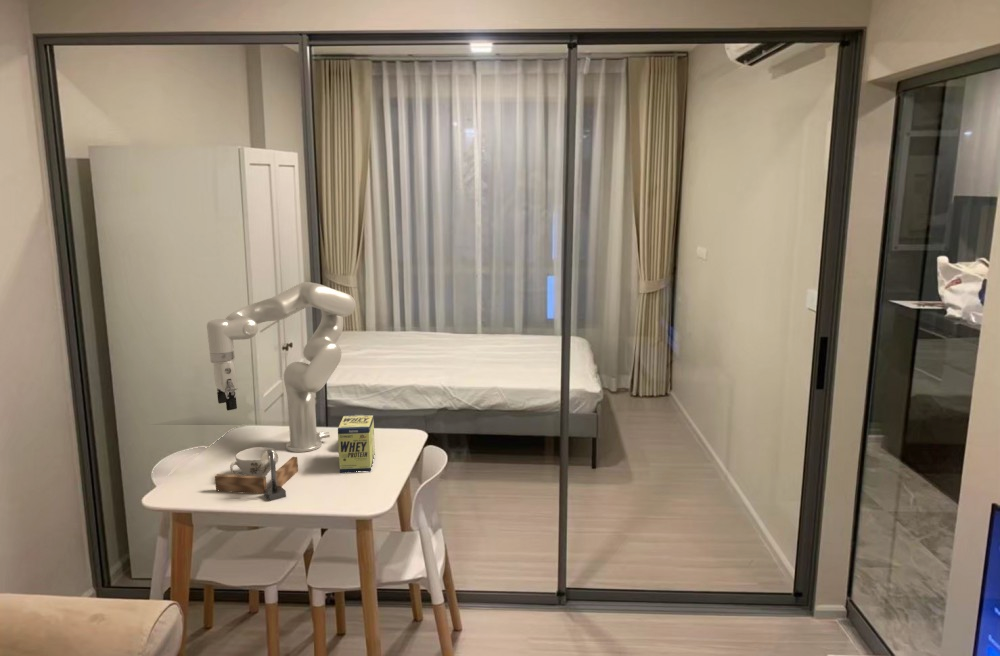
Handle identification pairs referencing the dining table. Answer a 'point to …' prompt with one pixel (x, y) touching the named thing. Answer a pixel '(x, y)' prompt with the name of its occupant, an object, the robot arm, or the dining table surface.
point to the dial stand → (272, 476)
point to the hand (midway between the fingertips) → (227, 406)
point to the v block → (255, 479)
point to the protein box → (356, 443)
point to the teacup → (251, 462)
